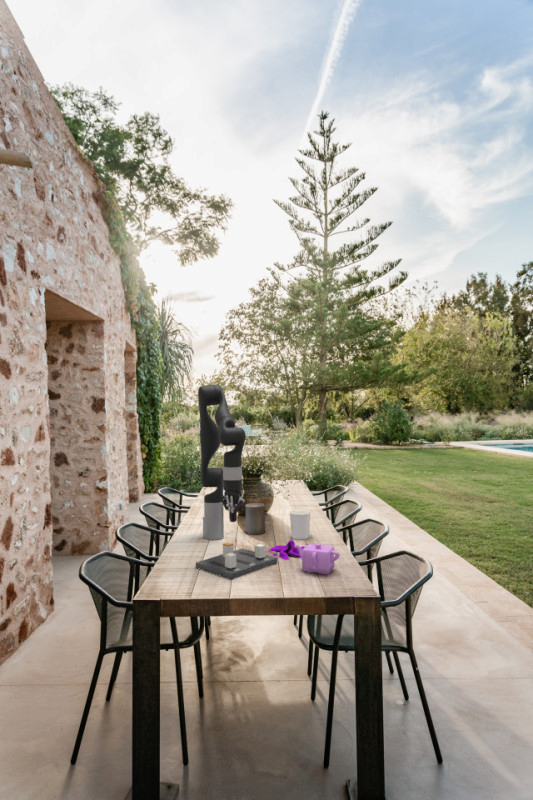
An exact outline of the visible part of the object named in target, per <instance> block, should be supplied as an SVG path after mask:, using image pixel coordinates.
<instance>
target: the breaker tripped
mask: <svg viewBox="0 0 533 800" xmlns="http://www.w3.org/2000/svg"><path fill="white" fill-rule="evenodd" d="M234 546H235V545H234V543H233V542H230V541H228V542H224V543H222V554H223V557H225V554H229V553H233V554H234V551H235V549H234Z"/></svg>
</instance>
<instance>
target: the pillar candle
mask: <svg viewBox="0 0 533 800" xmlns="http://www.w3.org/2000/svg"><path fill="white" fill-rule="evenodd" d="M244 506H245V507H244V508H245V533H248V535H252V534H256V535H262V534H265V533H266V517H265V516H266V513H265V511H266V510H265V509H266V508H265V503H261V502H256V501H255V502H253V503H245V504H244ZM264 532H265V533H264Z"/></svg>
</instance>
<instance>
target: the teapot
mask: <svg viewBox="0 0 533 800" xmlns="http://www.w3.org/2000/svg"><path fill="white" fill-rule="evenodd" d="M294 546H295V547H297V548H298V551H299V554H300V557H301V559H300V560H301V571H303V572H307V573H308V574H313V573H316V574H317V573H318V574H320V575H322V576H323V575H329V574H330V573H331V572H332V570H333V569H335V562H336V561H337V560H338V559H339V558H340V553H339V552H338V551H336V550H335V546H333V545H325V544H324V545H323V544H321V543H313V544H312V543H309V544H307V545H306V546H304V547H305V548H304V549H303V550H302V548H301V546H300V545H299V544H295V545H294Z"/></svg>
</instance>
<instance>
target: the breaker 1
mask: <svg viewBox="0 0 533 800" xmlns="http://www.w3.org/2000/svg"><path fill="white" fill-rule="evenodd" d="M225 567H227V568H230V569H231V568H234V567H236V554H233V553H229V554H225Z"/></svg>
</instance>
